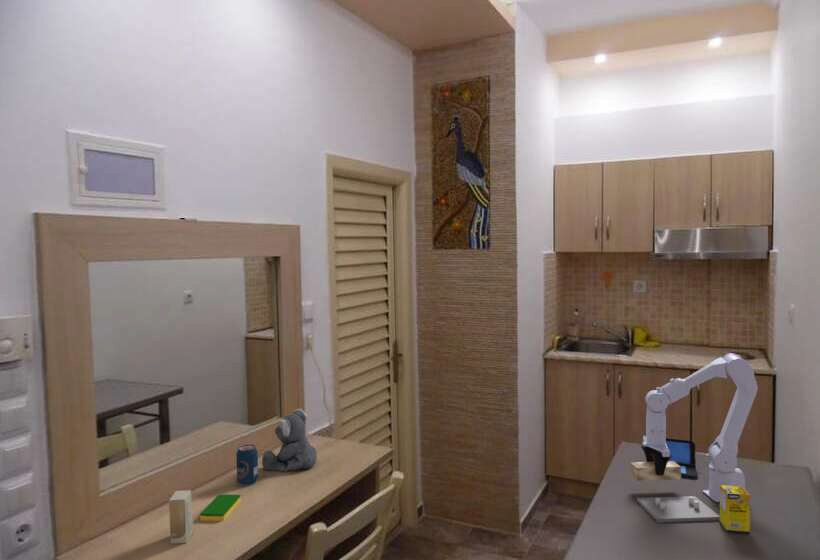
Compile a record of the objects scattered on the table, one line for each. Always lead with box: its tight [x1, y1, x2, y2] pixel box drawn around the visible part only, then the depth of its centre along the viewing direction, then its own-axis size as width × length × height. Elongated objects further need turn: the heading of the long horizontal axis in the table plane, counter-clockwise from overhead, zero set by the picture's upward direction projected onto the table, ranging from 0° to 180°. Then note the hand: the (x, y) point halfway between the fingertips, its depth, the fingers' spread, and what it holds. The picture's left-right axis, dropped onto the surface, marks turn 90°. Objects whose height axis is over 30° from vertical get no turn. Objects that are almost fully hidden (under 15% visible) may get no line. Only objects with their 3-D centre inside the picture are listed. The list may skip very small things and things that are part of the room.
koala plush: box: [261, 408, 318, 473], centre depth 215 cm, size 17×18×20 cm
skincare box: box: [168, 489, 194, 545], centre depth 161 cm, size 6×4×12 cm
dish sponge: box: [199, 493, 242, 522], centre depth 179 cm, size 7×14×2 cm, turn 176°
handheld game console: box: [666, 437, 699, 480], centre depth 205 cm, size 16×13×9 cm
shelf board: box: [629, 461, 682, 482], centre depth 187 cm, size 14×5×4 cm, turn 92°
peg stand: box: [636, 495, 720, 523], centre depth 174 cm, size 18×14×3 cm
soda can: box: [235, 444, 259, 487], centre depth 199 cm, size 7×7×12 cm
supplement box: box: [719, 485, 751, 535], centre depth 162 cm, size 6×6×11 cm
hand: (655, 471), depth 187 cm, fingers closed on shelf board, 5 cm apart
